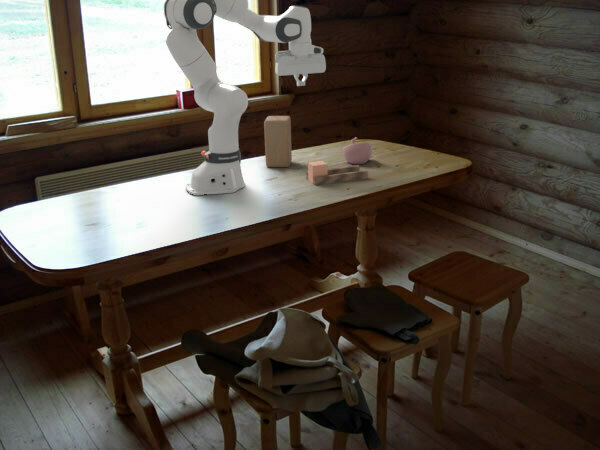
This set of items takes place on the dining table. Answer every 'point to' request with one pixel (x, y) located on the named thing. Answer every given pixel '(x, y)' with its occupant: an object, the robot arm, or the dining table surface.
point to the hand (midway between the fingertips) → (301, 85)
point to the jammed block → (316, 169)
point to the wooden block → (278, 141)
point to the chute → (340, 175)
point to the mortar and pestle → (357, 152)
